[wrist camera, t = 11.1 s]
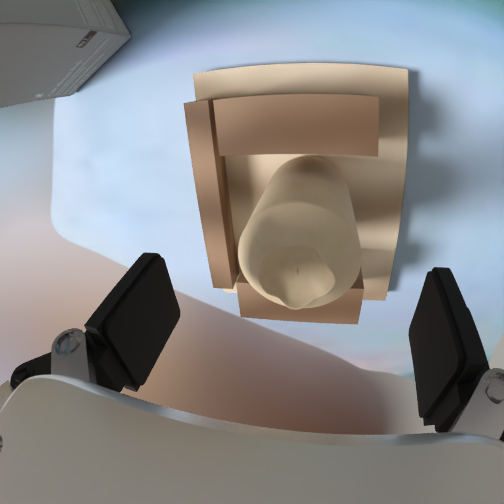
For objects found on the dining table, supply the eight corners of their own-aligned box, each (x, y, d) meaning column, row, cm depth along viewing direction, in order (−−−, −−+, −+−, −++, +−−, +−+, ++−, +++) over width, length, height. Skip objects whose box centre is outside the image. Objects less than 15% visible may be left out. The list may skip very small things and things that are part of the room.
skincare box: (74, 96, 21) (-81, 152, 7) (49, 45, 18) (-95, 76, 5) (138, 34, 17) (-51, 39, 4) (107, -17, 14) (-56, -30, 1)
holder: (199, 74, 18) (156, 73, 13) (402, 70, 15) (435, 65, 10) (227, 283, 27) (205, 331, 22) (383, 291, 24) (393, 344, 19)
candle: (352, 159, 18) (378, 226, 10) (343, 233, 21) (350, 335, 13) (269, 151, 19) (225, 210, 11) (268, 225, 22) (231, 320, 14)
